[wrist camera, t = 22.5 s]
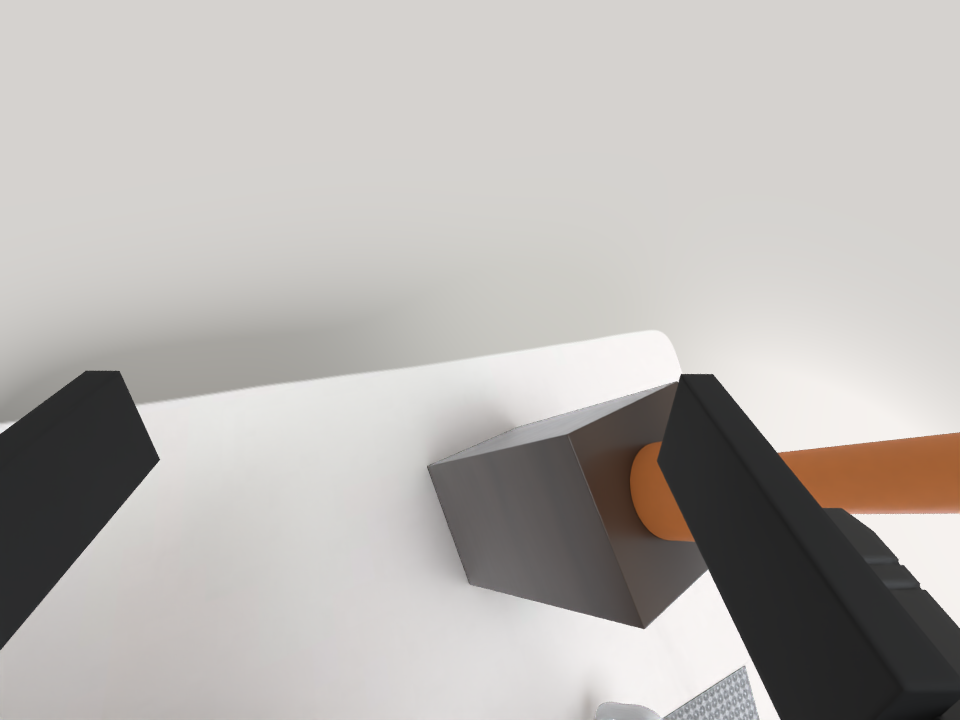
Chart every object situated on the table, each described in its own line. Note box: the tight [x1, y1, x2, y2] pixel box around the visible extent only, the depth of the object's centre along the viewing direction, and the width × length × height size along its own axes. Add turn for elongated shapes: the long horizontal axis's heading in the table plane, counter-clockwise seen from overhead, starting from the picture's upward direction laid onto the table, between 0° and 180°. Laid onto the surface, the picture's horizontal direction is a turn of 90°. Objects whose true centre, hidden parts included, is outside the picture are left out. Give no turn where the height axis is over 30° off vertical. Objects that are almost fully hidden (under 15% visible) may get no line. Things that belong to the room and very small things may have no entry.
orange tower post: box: [630, 432, 960, 542], centre depth 19 cm, size 5×5×16 cm
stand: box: [427, 381, 708, 629], centre depth 33 cm, size 10×10×18 cm
